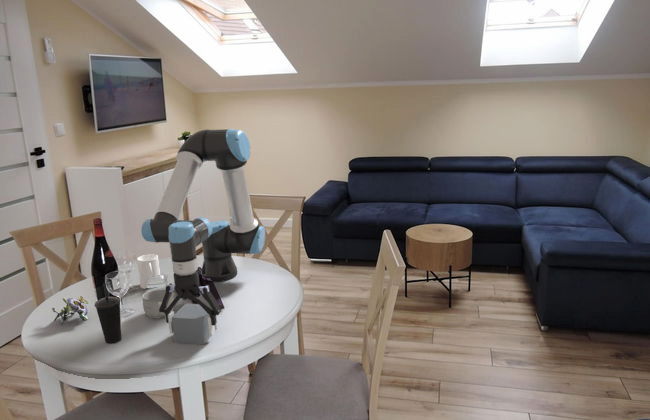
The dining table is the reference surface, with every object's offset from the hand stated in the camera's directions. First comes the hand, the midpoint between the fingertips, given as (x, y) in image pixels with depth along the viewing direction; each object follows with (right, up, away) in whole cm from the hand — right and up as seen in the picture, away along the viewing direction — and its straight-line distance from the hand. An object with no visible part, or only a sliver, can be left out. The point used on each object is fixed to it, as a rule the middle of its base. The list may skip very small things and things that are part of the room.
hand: (192, 332), depth 165 cm
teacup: (-16, +1, +17) cm, 24 cm away
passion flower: (-46, 0, +15) cm, 49 cm away
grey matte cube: (0, -2, +3) cm, 3 cm away
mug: (-28, +8, +44) cm, 53 cm away
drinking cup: (-26, -3, +2) cm, 26 cm away
